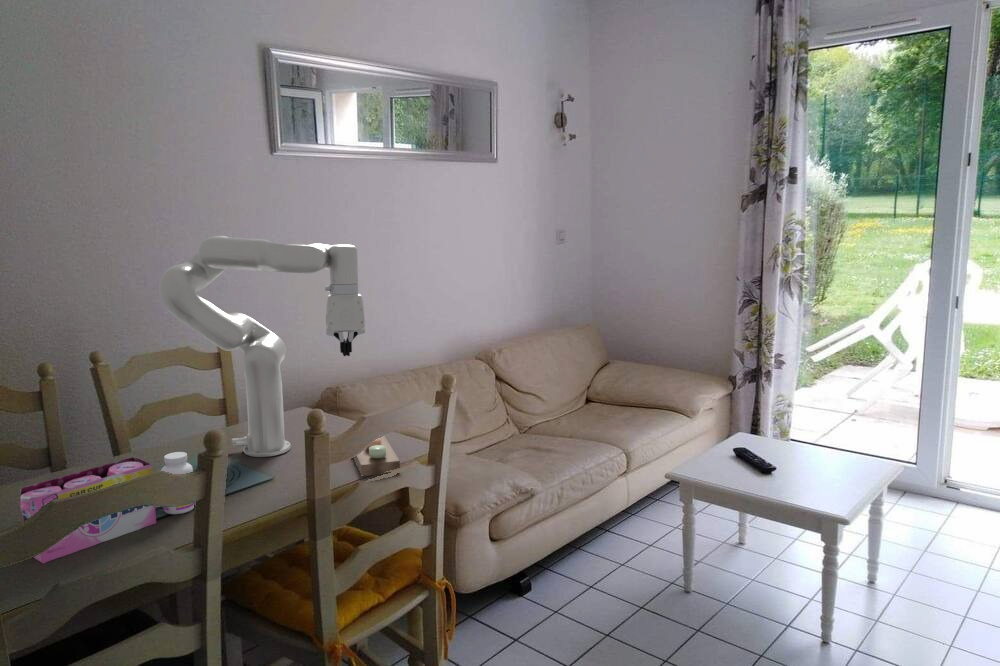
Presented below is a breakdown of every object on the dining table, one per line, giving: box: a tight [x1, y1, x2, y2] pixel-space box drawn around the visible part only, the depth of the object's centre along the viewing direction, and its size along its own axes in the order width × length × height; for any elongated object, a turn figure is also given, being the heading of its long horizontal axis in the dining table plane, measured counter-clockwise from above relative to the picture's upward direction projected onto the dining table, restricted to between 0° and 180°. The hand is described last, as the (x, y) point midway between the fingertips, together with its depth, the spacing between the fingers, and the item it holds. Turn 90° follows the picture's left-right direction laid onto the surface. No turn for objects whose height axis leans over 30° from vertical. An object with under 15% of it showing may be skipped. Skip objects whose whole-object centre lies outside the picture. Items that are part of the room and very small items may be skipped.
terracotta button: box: [366, 438, 381, 449], centre depth 190 cm, size 4×4×2 cm
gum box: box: [19, 456, 157, 564], centre depth 143 cm, size 24×8×14 cm, turn 145°
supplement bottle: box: [160, 451, 195, 515], centre depth 158 cm, size 7×7×13 cm
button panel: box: [353, 435, 401, 477], centre depth 191 cm, size 10×22×3 cm, turn 20°
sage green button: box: [369, 445, 386, 458], centre depth 184 cm, size 4×4×2 cm
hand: (346, 355), depth 196 cm, fingers closed
